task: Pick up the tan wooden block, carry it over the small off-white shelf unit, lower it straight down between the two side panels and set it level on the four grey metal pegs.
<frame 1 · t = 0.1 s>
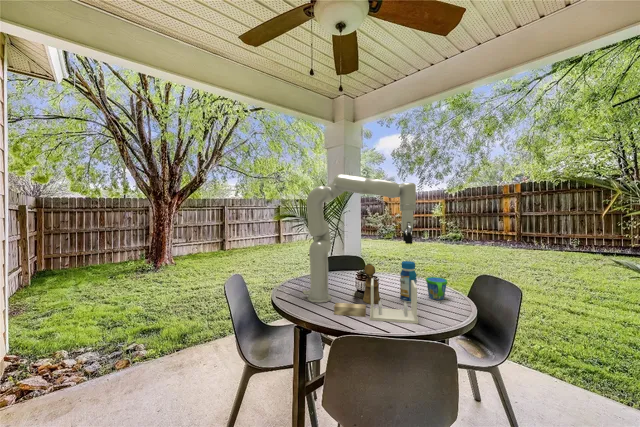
hand: (407, 242, 140), 31 cm above the table, tool pointing down, fingers open, 9 cm apart
snack cup: (436, 298, 150), on the table
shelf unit: (392, 316, 126), on the table
beverage bottle: (408, 300, 147), on the table
tan wooden block: (350, 314, 129), on the table
wooden mug: (371, 300, 148), on the table
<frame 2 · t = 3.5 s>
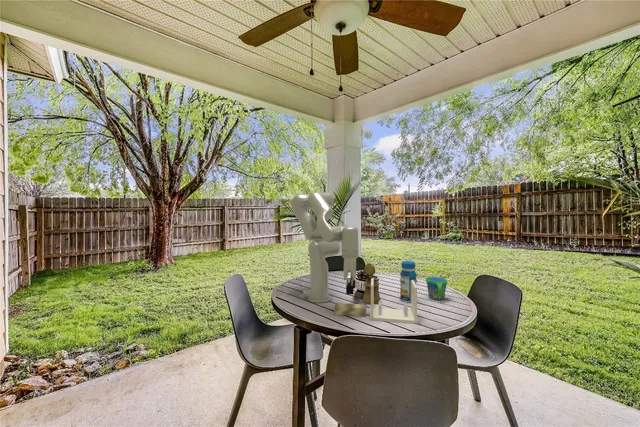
hand: (350, 291, 129), 10 cm above the table, tool pointing down, fingers open, 9 cm apart
nothing on the table moved.
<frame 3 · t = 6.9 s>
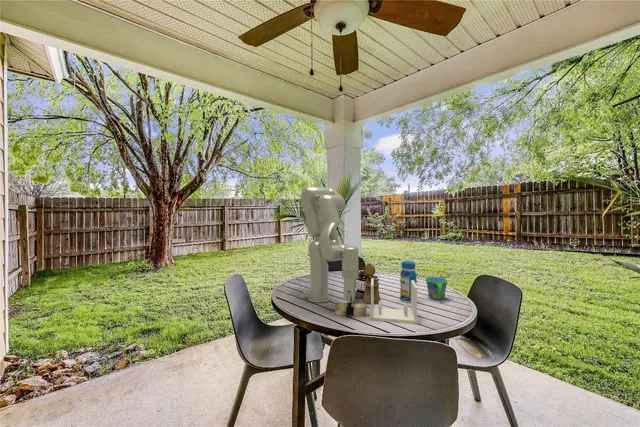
hand: (350, 312, 129), 1 cm above the table, tool pointing down, fingers closed on tan wooden block, 5 cm apart
tan wooden block: (350, 313, 129), on the table, touching gripper
everything else where it was.
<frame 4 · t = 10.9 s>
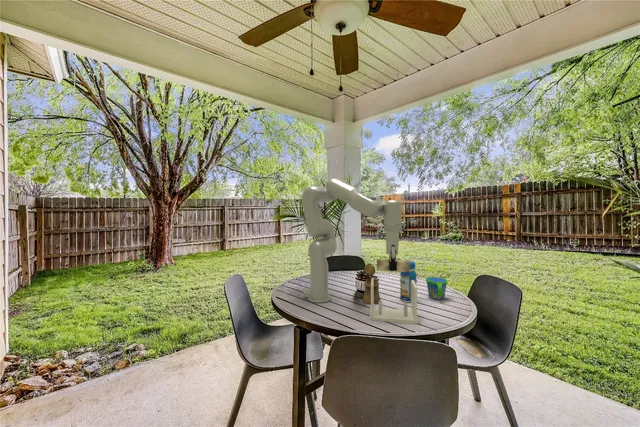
hand: (392, 268, 125), 21 cm above the table, tool pointing down, fingers closed on tan wooden block, 5 cm apart
tan wooden block: (392, 269, 125), point 21 cm above the table, touching gripper
everything else where it was.
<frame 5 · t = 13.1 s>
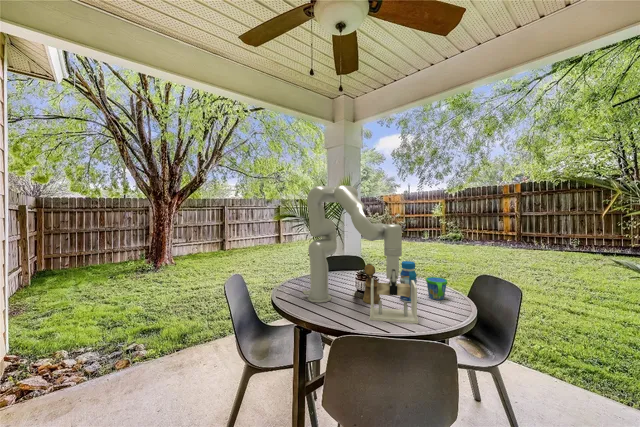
hand: (393, 292, 125), 11 cm above the table, tool pointing down, fingers closed on tan wooden block, 5 cm apart
tan wooden block: (393, 293, 125), point 10 cm above the table, touching gripper
everything else where it was.
when the fingers open (7 cm above the table, at t = 14.8 s): tan wooden block stays where it is, resting on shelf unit.
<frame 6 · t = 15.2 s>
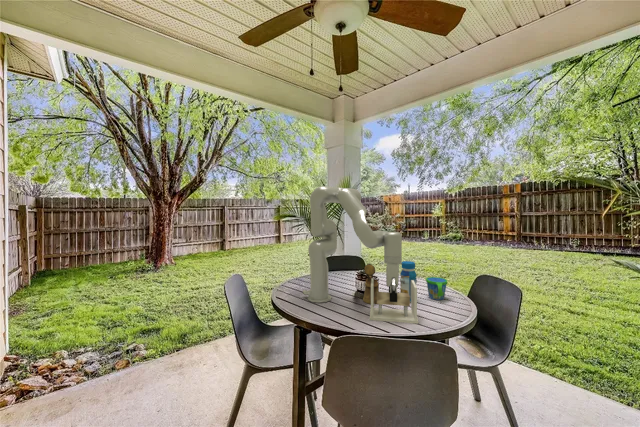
hand: (392, 298, 125), 8 cm above the table, tool pointing down, fingers open, 9 cm apart
tan wooden block: (392, 303, 125), point 6 cm above the table, touching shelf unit
everything else where it was.
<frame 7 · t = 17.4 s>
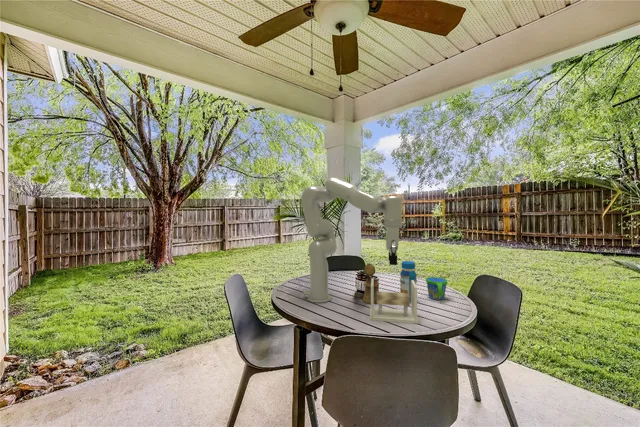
hand: (392, 262, 125), 24 cm above the table, tool pointing down, fingers open, 9 cm apart
nothing on the table moved.
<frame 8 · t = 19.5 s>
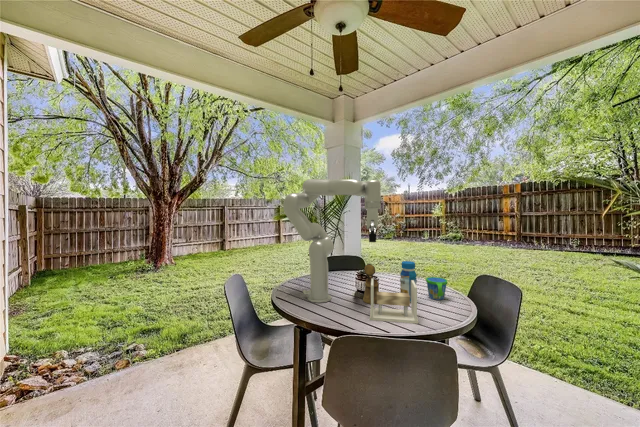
hand: (372, 240, 137), 32 cm above the table, tool pointing down, fingers open, 9 cm apart
nothing on the table moved.
at the end: tan wooden block 0.0 cm off-centre on the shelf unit, point 6.0 cm above the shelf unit's base; tan wooden block tilted 0°; the gripper is holding nothing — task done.
